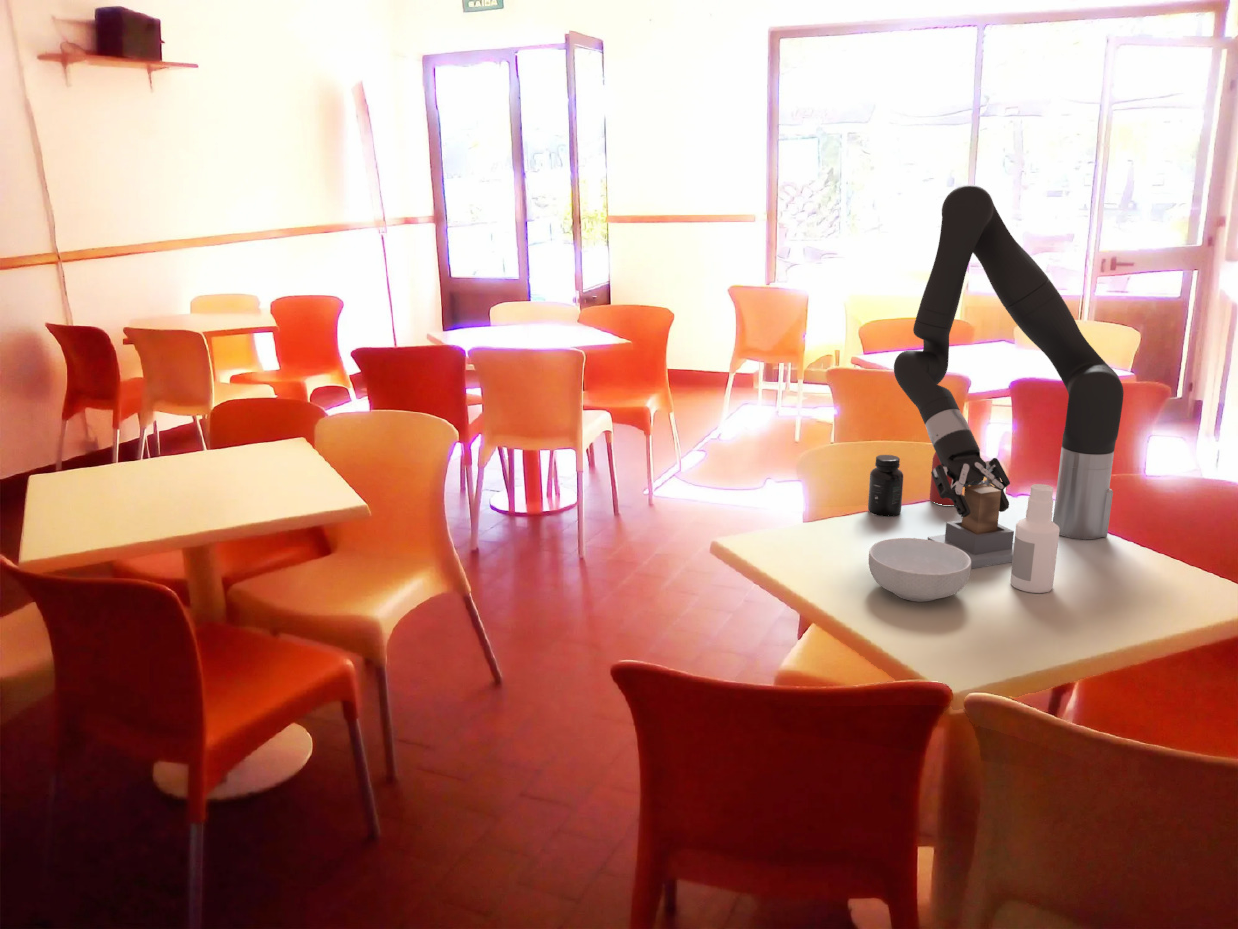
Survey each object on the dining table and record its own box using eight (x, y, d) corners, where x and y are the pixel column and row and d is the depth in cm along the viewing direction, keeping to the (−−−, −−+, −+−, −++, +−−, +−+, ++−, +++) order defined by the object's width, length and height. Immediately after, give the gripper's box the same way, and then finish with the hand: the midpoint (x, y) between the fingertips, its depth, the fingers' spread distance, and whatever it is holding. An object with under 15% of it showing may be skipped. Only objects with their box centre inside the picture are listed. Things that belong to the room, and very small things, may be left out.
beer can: (923, 499, 211) (927, 447, 208) (948, 496, 213) (953, 444, 210) (941, 508, 205) (945, 454, 202) (967, 505, 207) (972, 451, 204)
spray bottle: (1020, 574, 171) (1030, 478, 166) (1059, 585, 166) (1071, 486, 161) (1003, 586, 166) (1013, 487, 161) (1042, 597, 162) (1054, 496, 156)
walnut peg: (979, 538, 184) (985, 483, 181) (995, 546, 180) (1001, 490, 177) (960, 541, 183) (964, 486, 180) (975, 549, 179) (980, 493, 176)
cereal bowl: (970, 619, 154) (974, 578, 152) (864, 607, 159) (866, 568, 157) (966, 578, 170) (969, 541, 168) (869, 569, 175) (871, 532, 173)
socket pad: (983, 535, 190) (985, 511, 188) (1029, 559, 178) (1032, 533, 176) (927, 544, 186) (929, 520, 184) (970, 568, 174) (973, 543, 172)
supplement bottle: (860, 510, 205) (864, 456, 202) (884, 504, 209) (887, 451, 205) (884, 519, 200) (887, 464, 196) (907, 513, 203) (911, 458, 200)
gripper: (929, 431, 180) (964, 508, 173) (992, 424, 184) (1029, 498, 177) (911, 451, 186) (943, 526, 179) (972, 444, 191) (1006, 517, 183)
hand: (985, 512), depth 178 cm, fingers open, 8 cm apart
